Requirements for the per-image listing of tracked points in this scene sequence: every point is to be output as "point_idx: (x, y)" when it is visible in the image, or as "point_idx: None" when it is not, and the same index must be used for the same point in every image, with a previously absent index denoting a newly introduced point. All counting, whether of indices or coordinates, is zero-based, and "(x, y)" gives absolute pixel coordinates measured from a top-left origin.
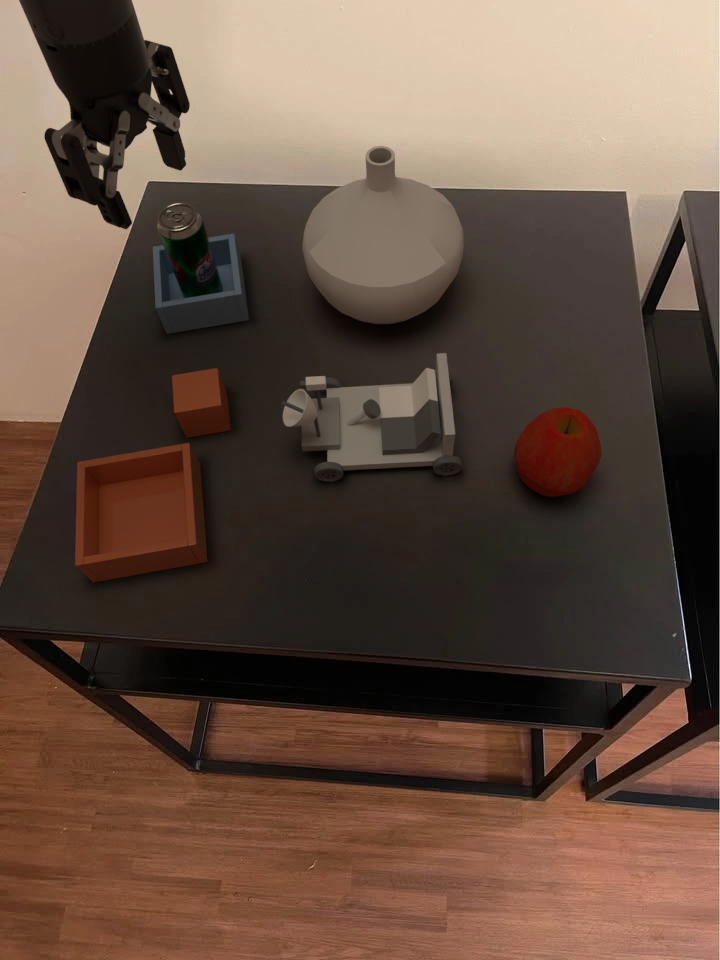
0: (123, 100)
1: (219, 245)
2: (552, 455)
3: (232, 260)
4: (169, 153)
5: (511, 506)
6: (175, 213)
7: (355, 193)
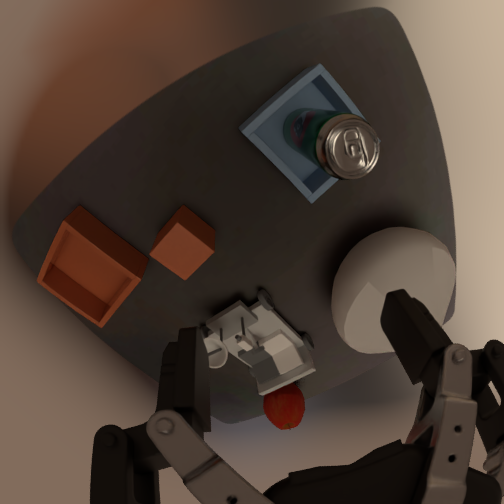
0: None
1: None
2: (272, 422)
3: None
4: (399, 332)
5: (254, 384)
6: (357, 143)
7: None
